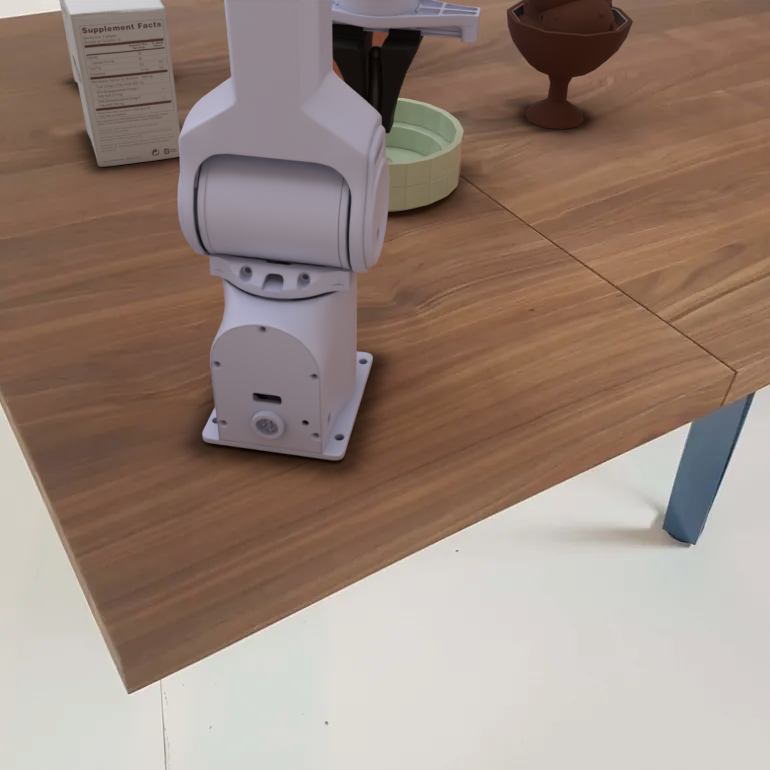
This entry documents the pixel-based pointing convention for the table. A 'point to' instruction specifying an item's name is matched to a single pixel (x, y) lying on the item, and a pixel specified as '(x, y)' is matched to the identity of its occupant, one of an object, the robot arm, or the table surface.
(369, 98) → the pen in desk stand
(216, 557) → the table surface
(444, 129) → the bowl
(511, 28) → the ice cream bowl
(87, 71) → the white packaging box
